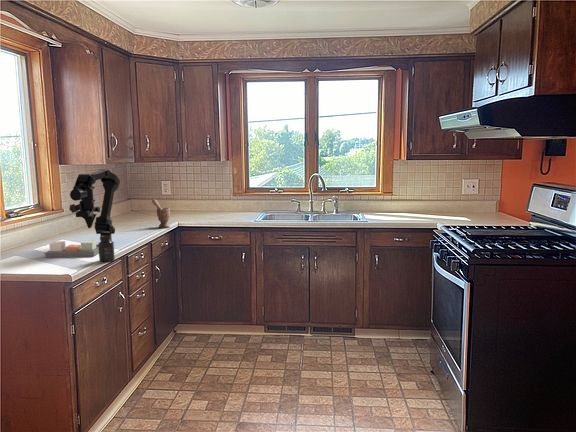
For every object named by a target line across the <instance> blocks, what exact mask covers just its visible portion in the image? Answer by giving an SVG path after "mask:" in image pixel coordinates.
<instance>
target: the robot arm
mask: <svg viewBox="0 0 576 432" xmlns="http://www.w3.org/2000/svg"><path fill="white" fill-rule="evenodd" d="M99 180H100V182H102V187H103V189H104V192H103V193H104V195H103V198H102V204H101V208H100V207H99V206H95V202H96V199H94V189H95V186H94V184H96V182H97V181H99ZM120 181H121V180H120V178H119V177H118V176H117V175H116V174H115V173H113V172H111V170H109V169H107V168H106V169H105V168H103V169H102V168H101V169H99V170H97V171H94V172H90V173H79V174H78V175H77V177H76V180H75V184H74V186H73V188H72V189H71V191H70V193H69V196H70V199H71V200H72V201H74V202H75V201H76V202H77V201H79V203H78V204H74V203H73V204H70V205H69V211H70V212H71V213H72V214H74V213H75V218H82V219H84V221H85V224H86V226H87V228H88V229H92V227H93V224H94V229H95V234H97V235H100V236H103V235H110V236H111V241H113V240H112V237H113V236H112V234H115V233H116V228H115V227H114V225H113V220H112V218H111V212H112V207H113V201H114V196H115V193H116V191H117V190H118V189H119V187H120V184H121V183H120ZM98 213H100V215H99V216H97V214H98ZM100 236H99V237H100ZM113 243H114V244H115V242H114V241H113Z"/></svg>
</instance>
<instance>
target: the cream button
mask: <svg viewBox="0 0 576 432" xmlns="http://www.w3.org/2000/svg"><path fill="white" fill-rule="evenodd" d="M48 244H49V245H48V246H49V250H50V252H52V251H63V250H65V249H66V248H65V247H67V245H66V241H65V240H60V241H58V240H57V241H52V242H50V243H48Z"/></svg>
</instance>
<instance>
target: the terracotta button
mask: <svg viewBox="0 0 576 432" xmlns="http://www.w3.org/2000/svg"><path fill="white" fill-rule="evenodd" d="M65 248H66V251H78V250H80V249H81V244H69V245H66V247H65Z"/></svg>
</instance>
